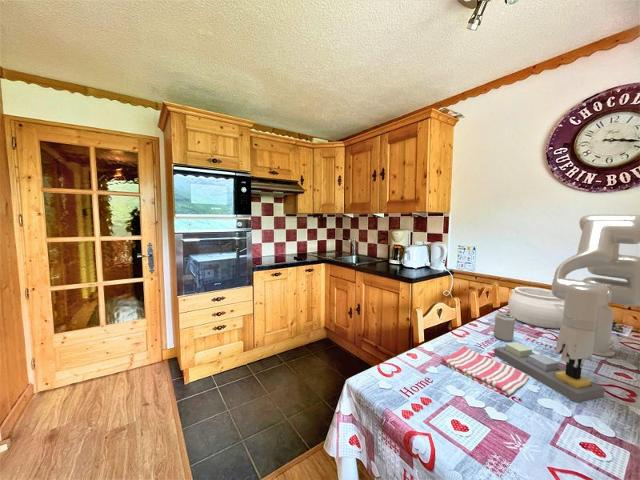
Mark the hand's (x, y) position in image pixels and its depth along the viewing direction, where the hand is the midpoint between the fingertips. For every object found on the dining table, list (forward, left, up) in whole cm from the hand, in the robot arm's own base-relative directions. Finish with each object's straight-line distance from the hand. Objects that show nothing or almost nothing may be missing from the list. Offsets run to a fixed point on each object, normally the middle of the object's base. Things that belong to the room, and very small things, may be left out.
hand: (572, 376), depth 84 cm
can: (-12, -34, -5) cm, 37 cm away
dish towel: (+20, -15, -5) cm, 26 cm away
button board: (0, -9, -5) cm, 10 cm away
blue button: (0, -9, -2) cm, 9 cm away
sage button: (0, -18, -2) cm, 18 cm away
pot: (-51, -47, -5) cm, 69 cm away
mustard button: (0, 0, -3) cm, 3 cm away
